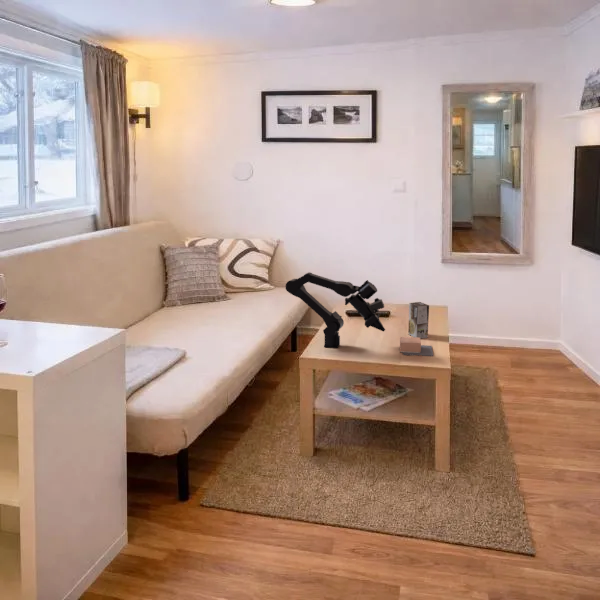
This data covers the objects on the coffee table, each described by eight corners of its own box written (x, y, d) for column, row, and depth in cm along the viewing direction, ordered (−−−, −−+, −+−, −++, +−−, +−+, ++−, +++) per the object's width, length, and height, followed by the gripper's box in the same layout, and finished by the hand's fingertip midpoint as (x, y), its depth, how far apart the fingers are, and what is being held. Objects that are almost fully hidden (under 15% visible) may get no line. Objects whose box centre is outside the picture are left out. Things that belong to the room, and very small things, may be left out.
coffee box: (428, 338, 314) (429, 305, 311) (416, 339, 312) (417, 306, 309) (419, 333, 322) (420, 301, 319) (407, 334, 320) (408, 302, 317)
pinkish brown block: (400, 342, 287) (420, 343, 286) (400, 336, 297) (420, 337, 296) (399, 352, 288) (420, 352, 287) (399, 346, 298) (419, 346, 297)
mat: (403, 355, 285) (403, 354, 285) (402, 345, 301) (402, 344, 301) (433, 356, 283) (433, 355, 283) (431, 346, 299) (431, 345, 299)
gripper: (373, 297, 281) (398, 324, 282) (374, 289, 299) (397, 314, 300) (354, 314, 283) (378, 340, 284) (356, 305, 301) (379, 330, 302)
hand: (384, 330), depth 293 cm, fingers closed
